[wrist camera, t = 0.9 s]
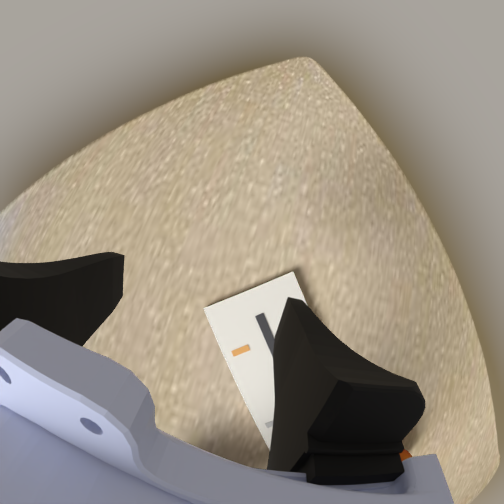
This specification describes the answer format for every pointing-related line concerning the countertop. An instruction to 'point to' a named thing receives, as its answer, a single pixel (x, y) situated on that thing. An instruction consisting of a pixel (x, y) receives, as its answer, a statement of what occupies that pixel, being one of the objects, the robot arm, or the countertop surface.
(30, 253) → the countertop surface
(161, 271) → the countertop surface
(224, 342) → the fader console
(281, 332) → the robot arm
